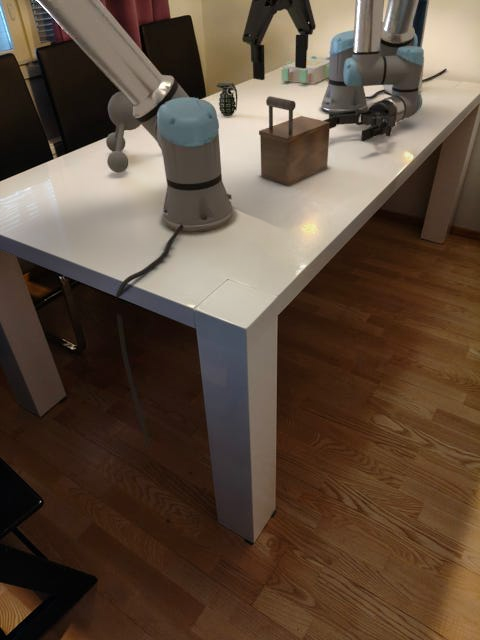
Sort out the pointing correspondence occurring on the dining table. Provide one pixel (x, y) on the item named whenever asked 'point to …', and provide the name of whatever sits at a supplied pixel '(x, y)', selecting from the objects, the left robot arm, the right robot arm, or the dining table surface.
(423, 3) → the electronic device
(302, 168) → the chest
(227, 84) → the grenade
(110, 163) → the molecular model
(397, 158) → the dining table surface
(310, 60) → the decorative block
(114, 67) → the left robot arm
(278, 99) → the lid
